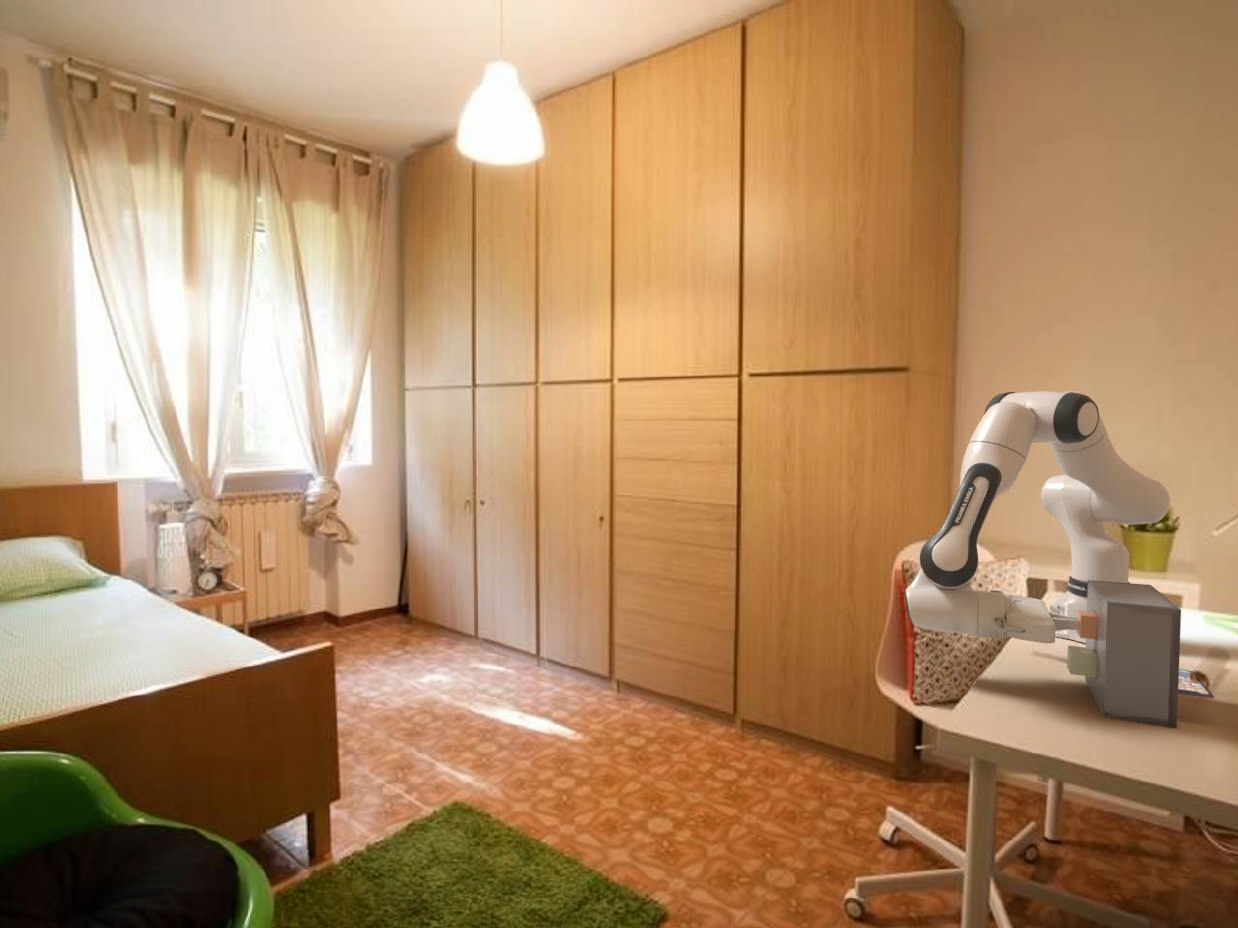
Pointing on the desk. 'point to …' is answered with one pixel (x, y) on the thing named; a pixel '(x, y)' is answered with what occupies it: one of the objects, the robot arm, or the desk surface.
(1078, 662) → the key lower
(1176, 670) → the box
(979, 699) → the desk surface
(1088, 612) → the key upper
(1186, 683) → the smartphone
